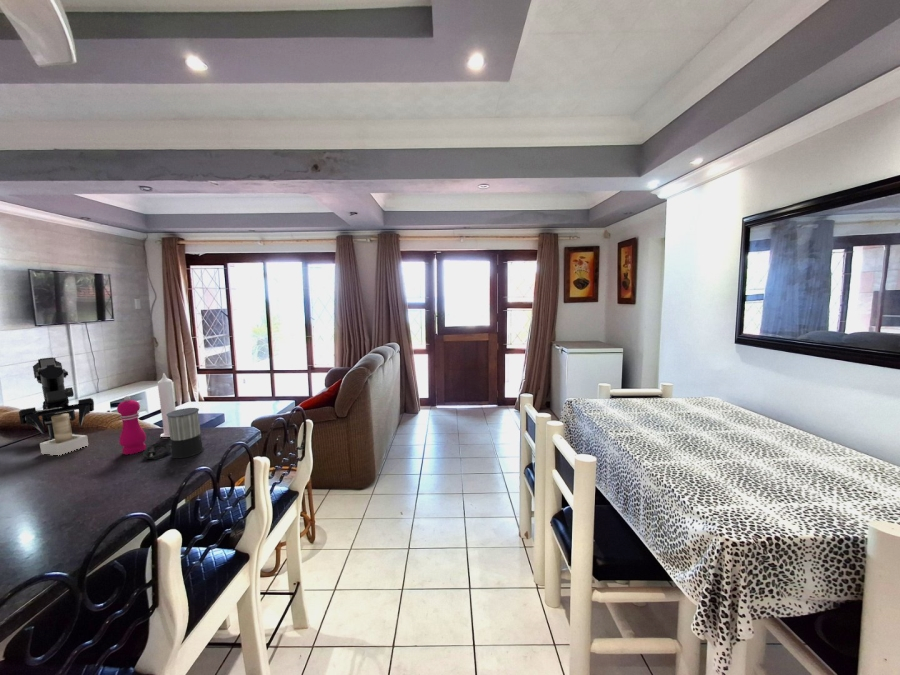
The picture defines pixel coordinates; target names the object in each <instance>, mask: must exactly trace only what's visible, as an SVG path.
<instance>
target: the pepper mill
mask: <svg viewBox="0 0 900 675" xmlns="http://www.w3.org/2000/svg"><path fill="white" fill-rule="evenodd" d="M123 400H124V401H121V402H120V403H119V404H118V405H117V407H116V408H117V409H116V410H117V413H118V414H119V415H120V416H119V417H120V420H121V421H122V430H121V433H120V436H119V445H120V446H122V447H123V448H122V454H123V455H124V454H125V455H127V456H128V454H130V455H135V454H138V452H139V453H141V452H144V451H145V450H146V449H147V446H146V443H145V442H146V440H147V435H146V432H145V431H144V429H143V428H142V427H141V425H140V422H139V417H140V412H139V410H140V407H141V406H140V403H139V402H138V401H137V400H134V399H133V400H132V399H131V396H129V395H127V396H124V397H123ZM143 450H144V451H143ZM134 453H135V454H134Z"/></svg>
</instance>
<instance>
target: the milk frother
mask: <svg viewBox="0 0 900 675" xmlns="http://www.w3.org/2000/svg"><path fill="white" fill-rule="evenodd" d="M199 411H200V409H199V407H186V408H185V407H184V408H180V409H176V410H175V411H172V412H169V413H168V414H166V416H167V417H168V423H169V431H170V438H169V439H170V443H168V442H163V441H162V442H157V443H153V444H151V445H150V446H148V447H146V449H145V450H144V451H142V456H143V458H144V459H148V460H153V459H159V458H162V457H164V456H166V455H167V454H169V452H170V451H171V455H170V456H171V458H172V459H173V458H174V459H183V458H188V457H189V458H190V457H193V456H196V455H198V454H200V453H202V452H203V451H204V447H203V446H204V445H203V441H202V433H201V425H200V417H199ZM158 447H163V448H165V450H164V451H162V452H161V453H158V454H156V448H158Z"/></svg>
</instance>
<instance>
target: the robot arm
mask: <svg viewBox="0 0 900 675" xmlns="http://www.w3.org/2000/svg"><path fill="white" fill-rule="evenodd" d="M32 370H33V377H34V379H36V381H37V383H38V384H40V385H41V389H42V394H43V399H44V401H43V402H42V409H39V410H37V409H36V407H28V408H25V409H24V408H23V409H20V410H19V411H18V415H19V420H20V424H21V425H27V426H32V427H34V428H36V429H37V430H38V431H39V432H40V433H41V434H43V435H44V434H45V427H46V426H47V428H48V433H49V436H48V437H45V438H44V440H46V441H49V440H53V439H55V437H54V431H53V425H52V419H51V417H52V416H54V415H58V414H65V413H68V414H69V418H70V422H72V421H73V422H74V421H75V420H76V414H75V411H78V425H79V427H82V426H83V421H84V419H85V417H86V416H87V415H88V414H90V412H93V411H94V410H95V401H94V399H93V398H92V397H88V398H83V399H78V400H77V402H78V403H76V404H70V400H69V398H72V397H74V396H75V395H74V389H73V387H65V378H67V376H69V372H68V371H67V370H66V369H65V368H63V365H62V362H60V361H58V360H57V359H56V357H45V358H43V357H42V358H39V359H37V362H36V363H35V364H34V365H33V366H32ZM40 417H41V419H40ZM72 434H74V435H77V433H75V432H72Z"/></svg>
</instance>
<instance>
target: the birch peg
mask: <svg viewBox="0 0 900 675" xmlns="http://www.w3.org/2000/svg"><path fill="white" fill-rule="evenodd" d="M51 419H52V425H53V431H54V437H55V443H62V442H65V441H69V440H72V439H73V436H72V433H73V431H72V424H71V421H70V418H69V414H68V413H65V414H58V415H54V416H52V417H51Z"/></svg>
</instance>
